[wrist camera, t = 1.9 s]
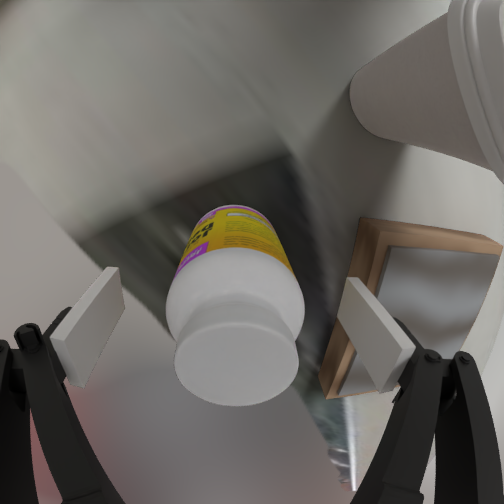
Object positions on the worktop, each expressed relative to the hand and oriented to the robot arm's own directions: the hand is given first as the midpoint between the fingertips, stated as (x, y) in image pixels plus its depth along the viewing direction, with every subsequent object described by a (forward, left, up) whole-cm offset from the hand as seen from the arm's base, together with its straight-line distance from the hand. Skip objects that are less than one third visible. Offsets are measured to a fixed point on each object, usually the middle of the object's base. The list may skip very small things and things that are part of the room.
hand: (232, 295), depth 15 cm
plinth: (+6, +19, -7) cm, 21 cm away
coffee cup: (-13, +11, -7) cm, 19 cm away
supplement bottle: (0, 0, -7) cm, 7 cm away
